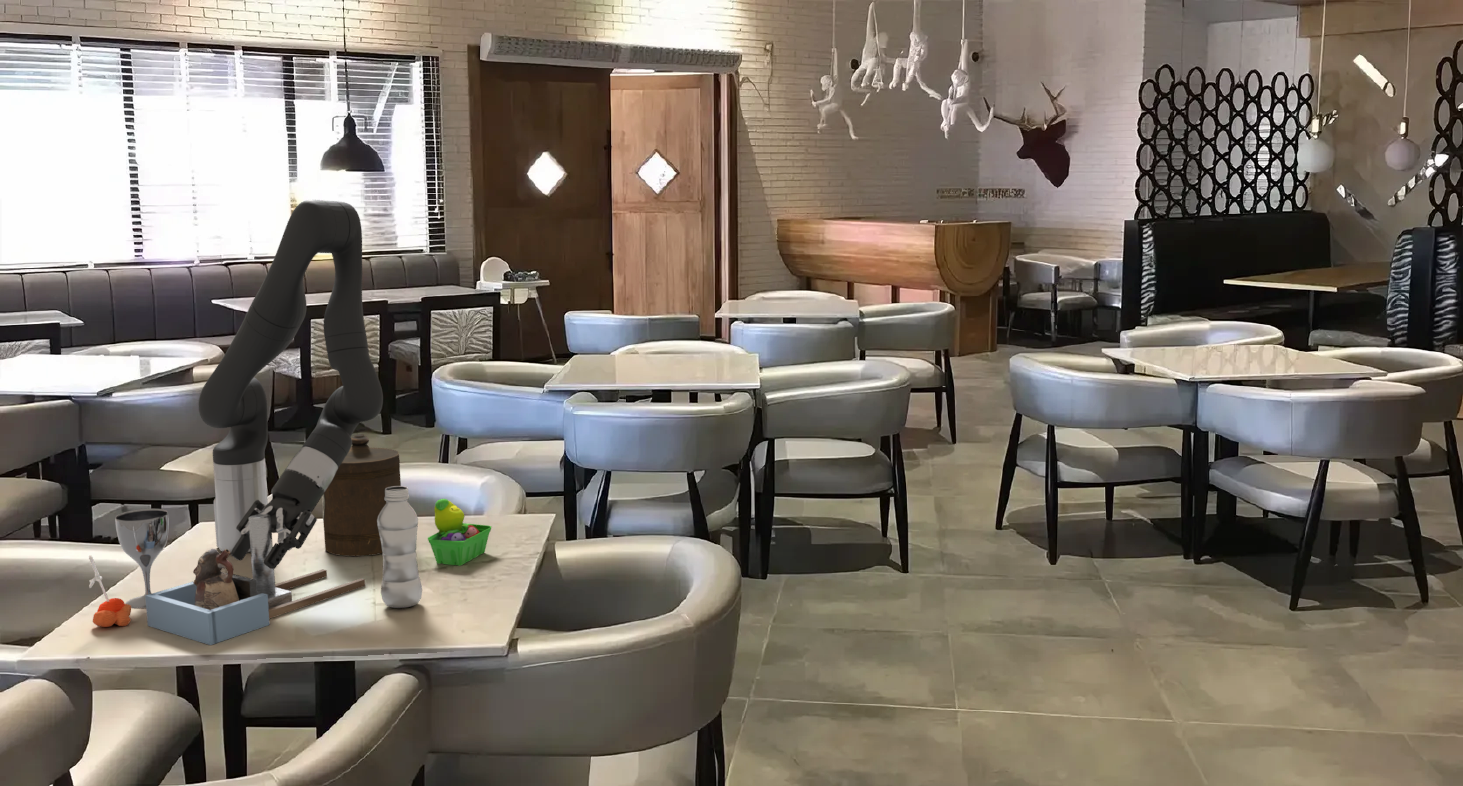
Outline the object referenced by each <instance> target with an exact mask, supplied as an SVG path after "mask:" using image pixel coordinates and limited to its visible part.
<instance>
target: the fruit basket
mask: <svg viewBox="0 0 1463 786" xmlns="http://www.w3.org/2000/svg"><path fill="white" fill-rule="evenodd" d="M434 504H435V505H434V524H435V527H436V529H437V530H438V531H437V532H436V533H433V534H432V535H430V536H428V537H427V541H428V543H429V545H430V547H431V551H432V553H433V556H434V558H435V563H436V564H437V565H439V564H443V565H449V566H459V567H462V566H463V565H464V564H466V563H468V562H471V561H472V560H473V559H475V558H478V557H479V556H480V555H483V554H485V552H486V549H487V544H488V539H489V535H490V532H491V530H492V526H491V525H485V524H477V523H476V524H475V523H466V522H464V519H465V514H464V513H465V512H463V510H462V509H461V508H459V506H457V505H456V504H454V503H453V502H452V501H450V500H449V499H447V498H440V499H438V500H436V501H435V503H434Z"/></svg>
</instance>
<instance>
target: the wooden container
mask: <svg viewBox="0 0 1463 786" xmlns="http://www.w3.org/2000/svg"><path fill="white" fill-rule="evenodd" d="M351 439H352V446H351V448H350V450H349V452H348V454H347V455H346V457H345V458H344V460H343V462H342V463H341V465H340V466H339V468H338V470H337V471H336V473H335V476H334V478H333V480H332V482H331V483H330V485H329V486H328V488H327V489H326V491H325V493H324V494H323V496H322V497H321V500H322V505H321V506H322V522H323V532H324V535H323V536H324V537H323V538H324V549H325V550H326V552H327V553H329V554H332V555H336V556H341V557H342V556H343V557H365V556H366V557H367V556H375V555H381V554H383V552H382V545H381V540H380V535H379V530H378V525H377V519H378V515H379V514H380V512H381V510H382V509H383V507H384V506H385V505H386V502H387V501H385V499H384V497H385V489H386V488H388V487H393V486H402V483H401V468H400V467H401V463H400V454H399V453H400V452H399V451H397V450H395V449H391V448H388V447H386V448H385V447H370V446H369V445H368V443H369V441H370V439H369V437H368V436H366V435H365V434H362V433H359V434H354V435H353V436H351Z"/></svg>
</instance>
